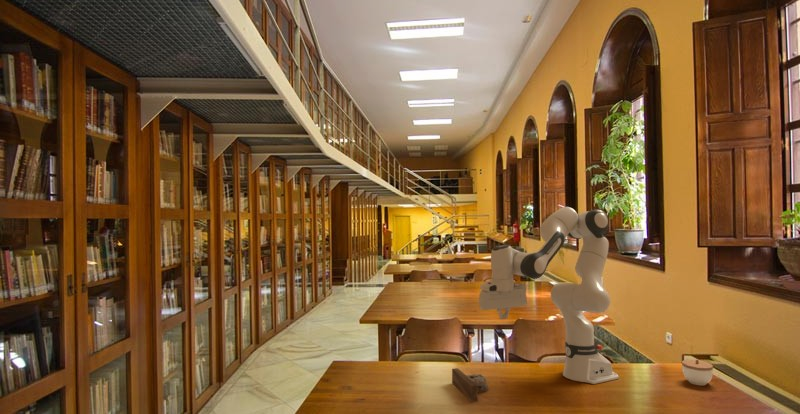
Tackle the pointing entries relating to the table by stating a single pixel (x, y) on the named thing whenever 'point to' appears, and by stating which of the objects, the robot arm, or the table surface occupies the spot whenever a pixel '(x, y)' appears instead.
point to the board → (464, 385)
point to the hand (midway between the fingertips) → (503, 318)
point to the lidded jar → (697, 371)
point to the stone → (479, 382)
